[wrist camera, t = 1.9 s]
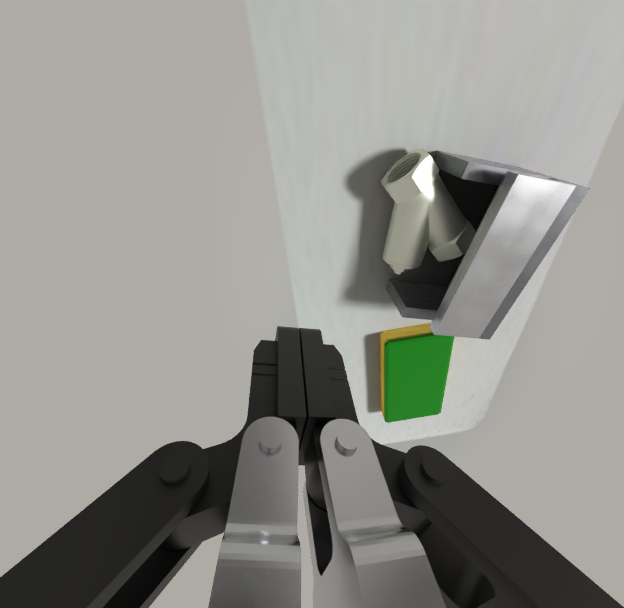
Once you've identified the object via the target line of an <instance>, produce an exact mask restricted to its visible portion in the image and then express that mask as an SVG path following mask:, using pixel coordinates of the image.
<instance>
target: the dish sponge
mask: <svg viewBox="0 0 624 608" xmlns="http://www.w3.org/2000/svg"><path fill="white" fill-rule="evenodd" d="M430 324H431V323H429V324H423V325H417V326H411V327H406V328H400V329H394V330H388V331H383V332H382V333H381V334H380V359H381V410H382V413H383V416H384V419H385V422H394V421H400V420H406V419H412V418H418V417H424V416H430V415H436V414H439V413H440V412H441V408H442V402H443V396H444V391H445V385H446V380H447V374H448V368H449V363H450V357H451V351H452V346H453V340H454V336H445V335H434V333H433V332H432V330H431V329H430V327H429V326H430Z"/></svg>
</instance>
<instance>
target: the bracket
mask: <svg viewBox="0 0 624 608" xmlns="http://www.w3.org/2000/svg"><path fill="white" fill-rule="evenodd" d="M434 162H435V164H436V165H437V167H438V168H439V169H441V170H443V171H446V172H448V173H450V174H452V175H454V176H457V177H459V178H461V179H465V180H471V181H476V182H481V183H487V184H492V185H497V188H496V190H495V192H494V194H493V196H492V198H491V200H490V202H489V204H488V206H487V208H486V210H485V212H484V214H483V216H482V218H481V220H480V222H479V224H478V226H477V228H476V230H475V231H476V234H475V236H474V238H473V240H472V242H471V244H470V246H469V248H468V250H467V252H466V253H464V254H463V256H462V258H461V260H460V262H459V264H458V266H457V268H456V270H455V272H454V274H453V276H452V278H451V280H450V282H449V284H448V286H440V285H432V284H423V283H414V282H406V281H397V280H389V283H388V285H387V288H386V289H387V291H388V293H389V294H390V296H391V298H392V300H393V302H394V303H395V305H396V307H397V309H398V311H399V312H400V314H401V316H402V317H406V318H417V319H428V320H432V322H431V324H430V326H429V327H430V329H431V330H432V332H433V333H434V335H445V336H457V337H469V338H481V339H490V338H491V337H492V335H493V334H494V332H495V331H496V329H497V328H498V326H499V325H500V323H501V322H502V320H503V319H504V317H505V316H506V314H507V313H508V311H509V310H510V308H511V307H512V305H513V304H514V302H515V301H516V299H517V298H518V296H519V295H520V293H521V292H522V290H523V289H524V287H525V286H526V284H527V283H528V281H529V280H530V278H531V277H532V275H533V274H534V272H535V271H536V269H537V267H538V266H539V264H540V263H541V261H542V260H543V258H544V257H545V255H546V254H547V252H548V251H549V249H550V248H551V246H552V245H553V243H554V242H555V240H556V239H557V237H558V236H559V234H560V233H561V231H562V230H563V228H564V227H565V225H566V224H567V222H568V221H569V219H570V218H571V216H572V215H573V213H574V212H575V210H576V209H577V207H578V206H579V204H580V203H581V201H582V200H583V198H584V197H585V195H586V194H587V192H588V191H589V189H590V188H587V187H583V186H580V185H577V184H573V183H570V182H567V181H563V180H560V179H557V178H553V177H550V176H546V175H543V174H540V173H536V172H533V171H530V170H526V169H523V168H520V167H515V166H510V165H505V164H500V163H495V162H490V161H485V160H481V159H476V158H471V157H466V156H461V155H456V154H451V153H446V152H441V151H437V153H436V155H435V158H434Z"/></svg>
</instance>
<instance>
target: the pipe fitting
mask: <svg viewBox="0 0 624 608" xmlns="http://www.w3.org/2000/svg"><path fill="white" fill-rule="evenodd" d="M438 172H439V169H438V167H437V165H436V164H435V162H434V160H433V159H432V157H431V155H430V154H429V153H428V152H427V151H425V150H424V149H418V150H415V151H412V152H410V153H409V154H407V155H405V156H404V157H402V158H401V159H400V160H398V161H397V162H396V163H395V164H394V165H393V166H392V167H391V168H390V169H389V170H388V171H387V172H386V174H385V175H384V177H383V179H382V181H381V183H382V185H383V186H384V187H385V189H386V190H387V192H388V193H389V194H390V196H391V197H392V198H393V200H394V201H395V202H394V207H393V211H392V216H391V220H390V225H389V229H388V234H387V238H386V243H385V247H384V252H383V259H384V261H385V262H386V263H388V264H389V265H390V267H391V268H392V269H393V271H394V273H396V274H404V272H407V271H410V270H411V269H416V268H418V267H420V266H421V265H422V262H423V259H424V256H425V252H426V249H427V247H428V248H429V249H430V251H431V252H432V253H433V255H434V256H435V258H436V259H437V260H438V262H439V261H447V260H451V259H454V258H457V257H459V256H461V255H463V254H464V253H466V252H467V250H468V248H469V246H470V244H471V242H472V240H473V238H474V236H475V234H476V231H475V229H474V228H473V226H472V224H471V223H470V222H469V221H468V220H467V219H466V218H465V217H464V216H463V215H462V213H461V211H460V210H459V208H458V206H457V205H456V203H455V201H454V200H453V198H452V196H451V194H450V193H449V191H448V190H447V188H446V186H445V185H444V183H443V181H442V180H441V178H440V176H439V175H438Z"/></svg>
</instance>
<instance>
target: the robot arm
mask: <svg viewBox="0 0 624 608" xmlns="http://www.w3.org/2000/svg"><path fill="white" fill-rule="evenodd" d="M298 465H305V474H306V481H305V484H304V488H303V497H304V505H305V513H306V520H307V528H308V536H309V543H310V551H311V559H312V566H313V576H314V587H313V608H624V607H623V606H621V605H620V604H619V603H618V602H617V601H615V600H614V599H613V598H612V597H611V596H610V595H608V594H607V593H606V592H605V591H604V590H603V589H601V588H600V587H599V586H598V585H597V584H595V583H594V582H593V581H592V580H591V579H590V578H588V577H587V576H586V575H585V574H584V573H582V572H581V571H580V570H579V569H578V568H577V567H575V566H574V565H573V564H572V563H571V562H570V561H568V560H567V559H566V558H565V557H564V556H562V555H561V554H560V553H559V552H558V551H556V550H555V549H554V548H553V547H551V545H549V544H548V543H547V542H546V541H545V540H543V539H542V538H541V537H540V536H539V535H538V534H536V533H535V532H534V531H533V530H532V529H531V528H529V527H528V526H527V525H526V524H525V523H523V522H522V521H521V520H520V519H519V518H517V517H516V516H515V515H514V514H513V513H512V512H510V511H509V510H508V509H507V508H506V507H505V506H503V505H502V504H501V503H500V502H499V501H497V500H496V499H495V498H494V497H493V496H491V495H490V494H489V493H488V492H487V491H486V490H484V489H483V488H482V487H481V486H480V485H479V484H477V483H476V482H475V481H474V480H473V479H471V478H470V477H469V476H468V475H467V474H465V473H464V472H463V471H462V470H461V469H460V468H459V467H457V466H456V465H455V464H454V463H453V462H451V461H450V460H449V459H448V458H447V457H445V456H444V455H443V454H442V453H440V452H439V451H437V450H436V449H433V448H431V447H428V446H415V447H413V448H411V449H410V450H409V451H408V452H407V453H404V452H401V451H398V450H395V449H392V448H389V447H386V446H384V445H381V444H379V443H377V442H375V441H374V440H372V439H371V438H370V436H369V435H368V433H367V432H366V431H365V429H364V428H363V427H361V426H360V424H359V422H358V419H357V416H356V411H355V407H354V403H353V399H352V395H351V391H350V387H349V383H348V381H347V375H346V371H345V367H344V363H343V358H342V355H341V354H340V353H339V352H338V350H337V349H336V348H335V346H334V345H325V344H323V340H322V335H321V331H320V330H318V329H306V328H299V329H298V328H292V327H279V326H278V327H277V333H276V339H275V341H268V340H261V341H260V343H259V344H258V346H257V347H256V348H255V350H254V356H253V367H252V376H251V387H250V397H249V408H248V416H247V421H246V424H245V425H244V427H243V429H242V430H241V431H240V432H239V433H238V434H237V435H236V436H235V437H234V438H232V439H231V440H229V441H227V442H225V443H222V444H219V445H216V446H212V447H209V448H206V449H202V448H201V447H200V446H198V445H197V444H195V443H192V442H188V441H179V442H173V443H170V444H167V445H164V446H163V447H161V448H159V449H158V450H156V451H155V452H154V453H152V454H151V455H150V456H149V457H148V458H146V459H145V460H144V461H143V462H141V463H140V464H139V465H138V466H136V467H135V468H134V469H133V470H132V471H130V472H129V473H128V474H127V475H126V476H124V477H123V478H122V479H121V480H120V481H118V482H117V483H116V484H114V485H113V486H112V487H111V488H110V489H108V490H107V491H106V492H105V493H103V494H102V495H101V496H100V497H98V498H97V499H96V500H95V501H94V502H92V503H91V504H90V505H89V506H87V507H86V508H85V509H84V510H83V511H81V512H80V513H79V514H78V515H77V516H75V517H74V518H73V519H71V520H70V521H69V522H68V523H67V524H65V525H64V526H63V527H62V528H60V529H59V530H58V531H57V532H56V533H54V534H53V535H52V536H51V537H49V538H48V539H47V540H46V541H45V542H43V543H42V544H41V545H40V546H38V547H37V548H36V549H35V550H34V551H32V552H31V553H30V554H29V555H27V556H26V557H25V558H24V559H22V560H21V561H20V562H19V563H18V564H16V565H15V566H14V567H13V568H12V569H10V570H9V571H8V572H7V573H5V574H4V575H3V576H2V577H0V608H149V606H150V605H151V604H152V603H153V602H154V600H155V599H156V598H157V597H158V595H159V594H160V593H161V592H162V591H163V589H164V588H165V587H166V586H167V584H168V583H169V582H170V581H171V580H172V578H173V577H174V576H175V575H176V573H177V572H178V571H179V570H180V569H181V567H182V566H183V565H184V563H186V561H187V560H188V559H189V558H190V556H191V555H192V554H193V553H194V551H195V550H196V549H197V548H198V547H199V545H200V544H201V543H202V542H203V541H205V540H207V539H209V538H211V537H214V536H216V535H219V534H221V533H223V532H225V533H224V536H223V539H222V543H221V547H220V551H219V556H218V561H217V566H216V572H215V576H214V582H213V587H212V592H211V597H210V602H209V608H301V549H300V542H299V539H298V536H297V507H298Z"/></svg>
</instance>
